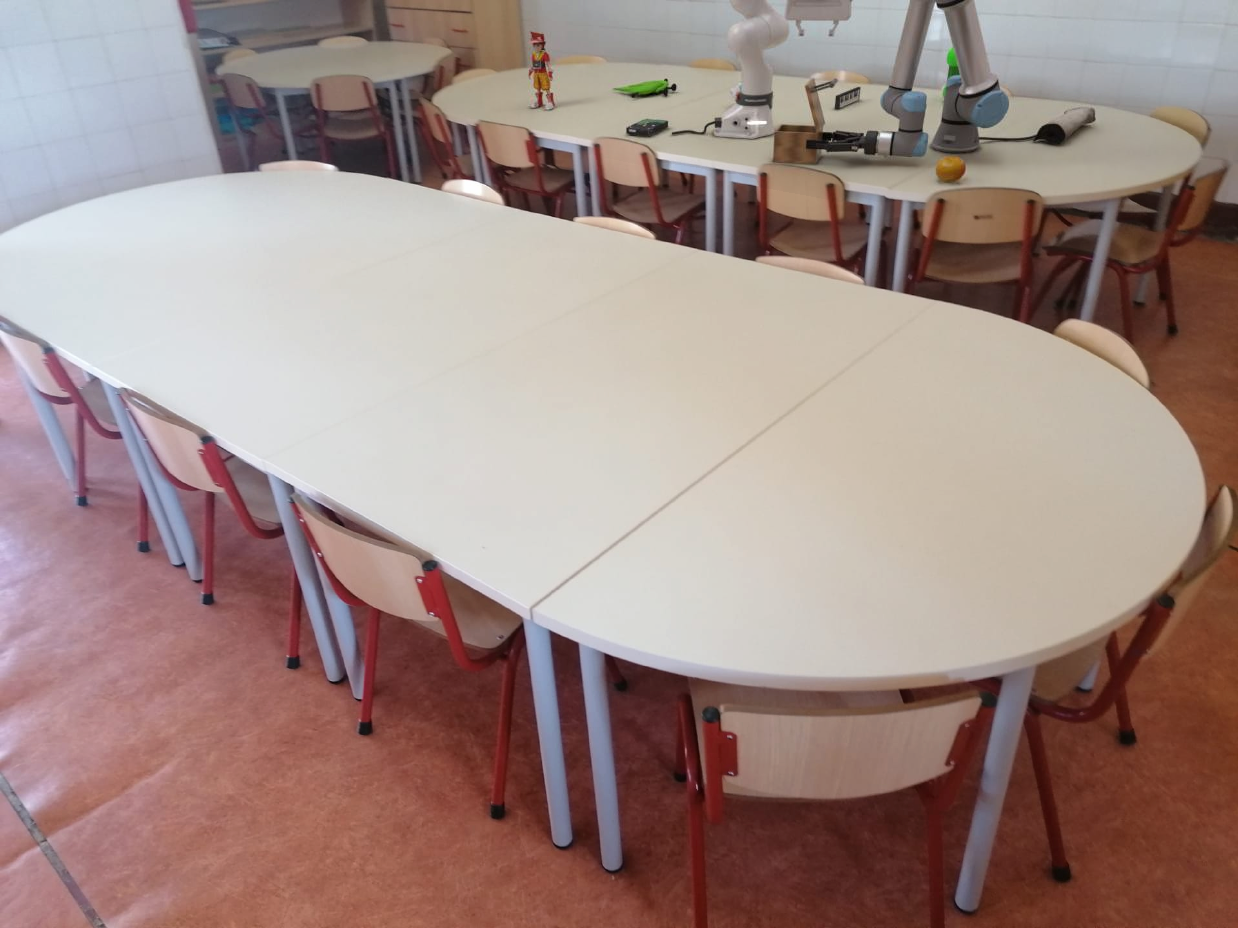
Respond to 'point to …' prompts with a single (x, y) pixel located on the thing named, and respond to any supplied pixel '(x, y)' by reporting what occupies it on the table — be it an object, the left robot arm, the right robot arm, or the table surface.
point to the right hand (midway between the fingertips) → (809, 140)
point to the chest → (796, 144)
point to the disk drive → (647, 127)
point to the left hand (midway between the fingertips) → (816, 36)
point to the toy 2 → (648, 88)
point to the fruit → (950, 169)
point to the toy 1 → (541, 71)
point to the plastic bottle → (951, 66)
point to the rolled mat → (1065, 125)
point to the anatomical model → (735, 89)
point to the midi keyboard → (847, 97)
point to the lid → (817, 101)
